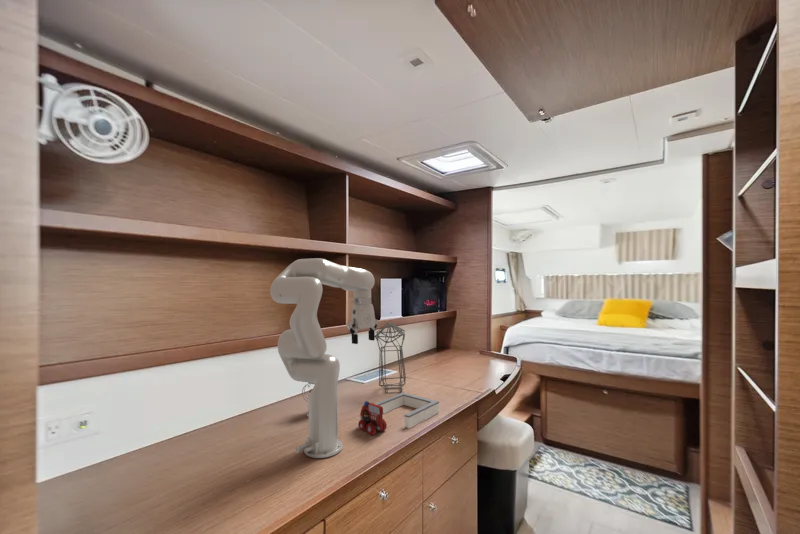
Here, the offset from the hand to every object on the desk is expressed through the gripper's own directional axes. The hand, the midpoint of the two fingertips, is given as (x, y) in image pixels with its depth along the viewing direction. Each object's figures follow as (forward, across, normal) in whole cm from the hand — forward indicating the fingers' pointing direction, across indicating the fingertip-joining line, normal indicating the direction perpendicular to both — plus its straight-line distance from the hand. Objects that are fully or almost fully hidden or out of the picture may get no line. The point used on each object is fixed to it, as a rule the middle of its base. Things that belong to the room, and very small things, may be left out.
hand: (363, 341), depth 148 cm
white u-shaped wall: (+31, +10, -14) cm, 35 cm away
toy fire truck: (+31, -9, -14) cm, 35 cm away
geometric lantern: (+31, +30, +12) cm, 45 cm away
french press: (+31, -12, +18) cm, 38 cm away
